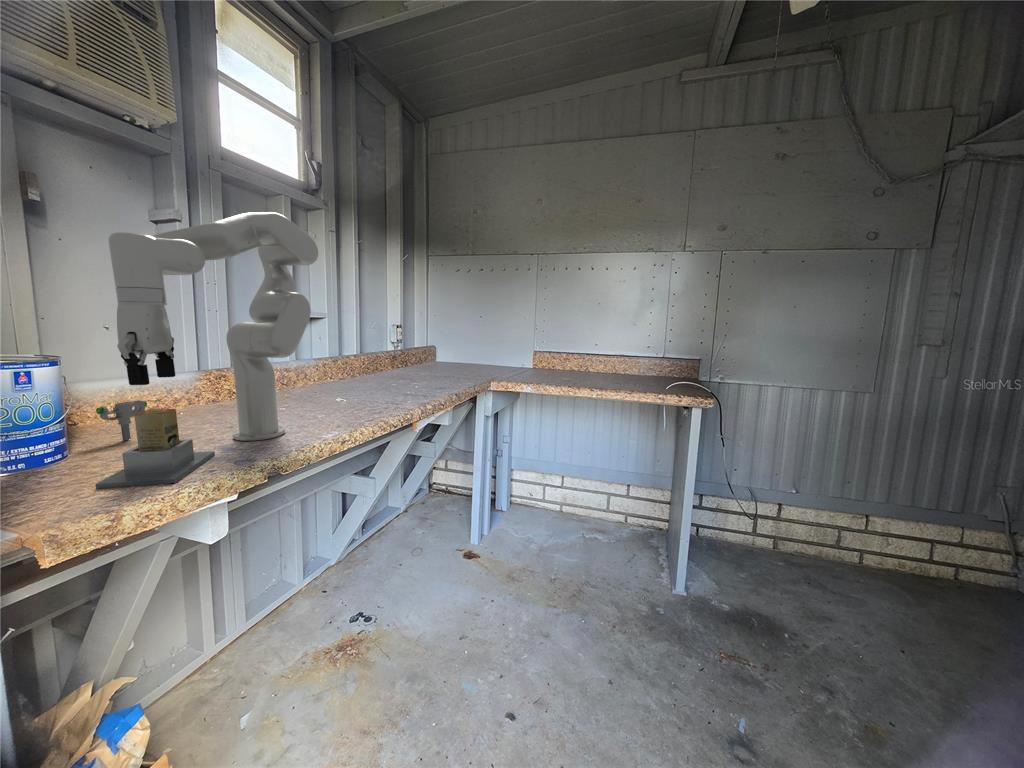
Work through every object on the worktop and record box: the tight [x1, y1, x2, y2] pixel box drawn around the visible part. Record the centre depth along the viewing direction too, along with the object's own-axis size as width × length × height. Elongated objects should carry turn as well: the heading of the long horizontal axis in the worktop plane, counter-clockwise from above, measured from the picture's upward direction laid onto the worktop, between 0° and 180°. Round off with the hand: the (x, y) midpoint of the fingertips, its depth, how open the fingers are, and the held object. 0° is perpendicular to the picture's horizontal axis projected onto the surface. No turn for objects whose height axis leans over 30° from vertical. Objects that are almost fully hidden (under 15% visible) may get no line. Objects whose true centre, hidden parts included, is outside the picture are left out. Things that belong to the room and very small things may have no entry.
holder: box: [94, 438, 216, 490], centre depth 90 cm, size 18×13×6 cm
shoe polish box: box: [134, 408, 180, 451], centre depth 89 cm, size 5×5×12 cm
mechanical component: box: [95, 399, 148, 441], centre depth 110 cm, size 3×10×10 cm, turn 160°
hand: (153, 380), depth 88 cm, fingers open, 9 cm apart
